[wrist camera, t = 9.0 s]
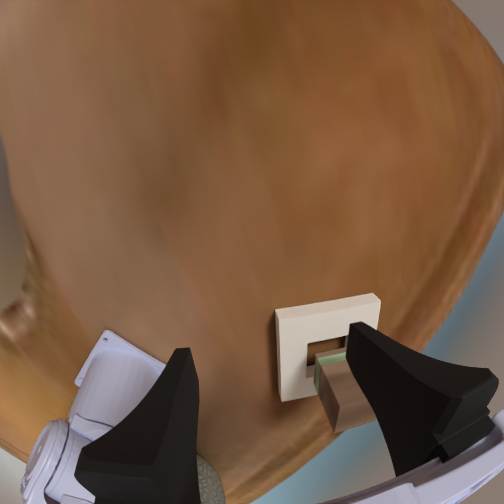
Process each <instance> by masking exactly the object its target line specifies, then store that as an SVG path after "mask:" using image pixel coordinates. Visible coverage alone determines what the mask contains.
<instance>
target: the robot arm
mask: <svg viewBox="0 0 504 504" xmlns="http://www.w3.org/2000/svg"><path fill="white" fill-rule="evenodd" d="M105 338H107V339H108V340H106V339H105ZM345 357H346V360H347V363H348V365H349V368H350V370H351V372H352V375H353V376H354V378H355V380H356V382H357V383H358V385H359V387H360V388H361V390H362V392H363V394H364V395H365V397H366V399H367V400H368V402H369V404H370V406H371V407H372V409H373V411H374V413H375V415H376V418H377V420H378V422H379V425H380V427H381V430H382V432H383V435H384V438H385V441H386V443H387V446H388V449H389V453H390V456H391V459H392V463H393V467H394V470H395V475H396V478H393V479H391V480H389V481H386V482H384V483H381V484H379V485H376V486H373V487H370V488H368V489H365V490H362V491H359V492H356V493H353V494H350V495H347V496H344V497H340V498H337V499H334V500H330V501H326V502H322V503H318V504H458V503H460V502H461V501H462V500H464V499H465V498H467V497H468V496H470V495H471V494H472V493H474V492H475V491H476V490H478V489H479V488H480V487H481V486H483V485H484V484H485V483H487V482H488V481H489V480H491V479H492V478H493V477H494V476H495V475H496V474H498V473H499V472H500V471H501V470H503V469H504V408H503V409H502V410H500V411H499V412H498V413H497V414H495V415H494V416H493V417H492V418H491V419H490V417H489V416H488V414H489V413H490V410H489V409H488V408H487V405H488V404H489V402H490V400H491V399H492V397H493V395H494V394H495V392H496V390H497V388H498V384H499V379H498V378H497V377H496V376H495V375H494V374H493V373H492V372H491V371H490V370H489V369H488V368H477V367H467V366H461V365H456V364H452V363H447V362H444V361H440V360H437V359H434V358H431V357H428V356H426V355H423V354H421V353H418V352H416V351H414V350H412V349H410V348H408V347H406V346H404V345H402V344H400V343H398V342H396V341H394V340H393V339H391V338H389V337H388V336H386V335H384V334H382V333H381V332H379V331H378V330H376V329H374V328H373V327H371V326H369V325H367V324H366V323H364V322H362V321H360V322H355V323H350V324H349V333H348V341H347V349H346V356H345ZM75 384H76V385H77V386H78V387H80V388H79V390H78V392H77V395H76V397H75V400H74V402H73V404H72V407H71V409H70V412H69V414H68V417H67V419H66V422H65V421H63V420H62V419H57V420H53V421H49V422H48V423H47V424H46V426H45V427H44V429H43V430H42V432H41V433H40V435H39V437H38V439H37V441H36V443H35V445H34V447H33V449H32V451H31V454H30V456H29V459H28V462H27V466H26V470H25V474H24V477H23V479H22V482H21V488H20V489H21V490H20V491H21V495H22V501H23V504H201V498H200V490H199V481H198V469H197V454H196V437H197V424H198V411H199V380H198V376H197V373H196V369H195V365H194V362H193V358H192V354H191V350H190V347H189V348H177V349H175V351H174V352H173V354H172V356H171V358H170V359H169V361H168V363H167V365H165V364H163V363H162V362H160V361H158V360H156V359H155V358H153V357H151V356H150V355H148V354H146V353H145V352H143V351H141V350H140V349H138V348H136V347H135V346H133V345H131V344H130V343H128V342H127V341H125V340H124V339H122V338H120V337H119V336H117V335H116V334H114V333H113V332H111V331H109V330H105V331H104V332H103V334H102V335H101V337H100V339H99V340H98V342H97V343H96V345H95V347H94V348H93V350H92V352H91V353H90V355H89V357H88V359H87V360H86V362H85V364H84V365H83V367H82V369H81V371H80V372H79V374H78V376H77V378H76V379H75Z"/></svg>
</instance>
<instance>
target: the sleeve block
mask: <svg viewBox="0 0 504 504" xmlns="http://www.w3.org/2000/svg"><path fill="white" fill-rule="evenodd" d="M380 305H381V301H380V300H379V299H378V298H377V297H376V296H375V295H374V294H373V293H369V294H364V295H359V296H353V297H348V298H343V299H337V300H331V301H325V302H320V303H314V304H307V305H301V306H295V307H288V308H281V309H275V319H276V341H277V364H278V390H279V394H280V398H281V402H283V401H289V400H294V399H300V398H304V397H309V396H314V395H318V394H317V392H316V389H315V385H314V369H315V365H311V366H307V343H312V342H317V341H322V340H327V339H332V338H337V337H341V336H346V338H345V347H347V341H348V333H349V324H350V323H355V322H360V321H362V322H364V323H366V324H367V325H369V326H371V327H373V328H374V329H376V330H377V324H378V318H379V312H380ZM345 347H344V348H345Z"/></svg>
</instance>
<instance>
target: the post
mask: <svg viewBox="0 0 504 504" xmlns="http://www.w3.org/2000/svg"><path fill="white" fill-rule="evenodd" d="M346 349H347V347H345V348H340V349H336V350H331V351H327V352H322V353H317V354H315V369H314V385H315V389H316V392H317V394H318V395H319V397H320V399H321V402H322V404H323V407H324V409H325V412H326V414H327V417H328V419H329V422H330V424H331V426H332V429H333V431H334V433H337V432H340V431H344V430H347V429H350V428H354V427H357V426H361V425H364V424H367V423H370V422H373V421H375V420H376V415H375V413H374V411H373V409H372V407H371V406H370V404H369V402H368V400H367V399H366V397H365V395H364V394H363V392H362V390H361V388H360V387H359V385H358V383H357V382H356V380H355V378H354V376H353V375H352V372H351V370H350V368H349V365H348V363H347V360H346V357H345V356H346Z"/></svg>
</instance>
